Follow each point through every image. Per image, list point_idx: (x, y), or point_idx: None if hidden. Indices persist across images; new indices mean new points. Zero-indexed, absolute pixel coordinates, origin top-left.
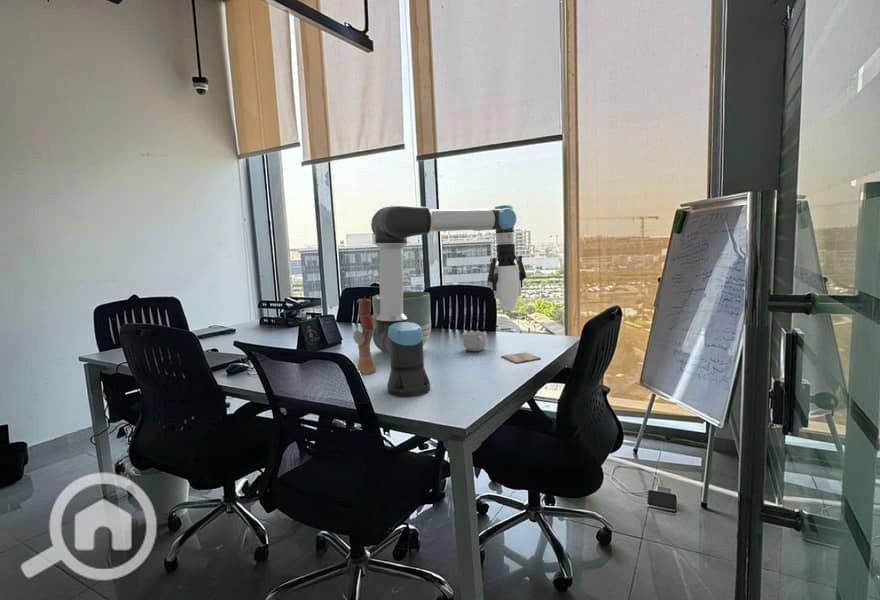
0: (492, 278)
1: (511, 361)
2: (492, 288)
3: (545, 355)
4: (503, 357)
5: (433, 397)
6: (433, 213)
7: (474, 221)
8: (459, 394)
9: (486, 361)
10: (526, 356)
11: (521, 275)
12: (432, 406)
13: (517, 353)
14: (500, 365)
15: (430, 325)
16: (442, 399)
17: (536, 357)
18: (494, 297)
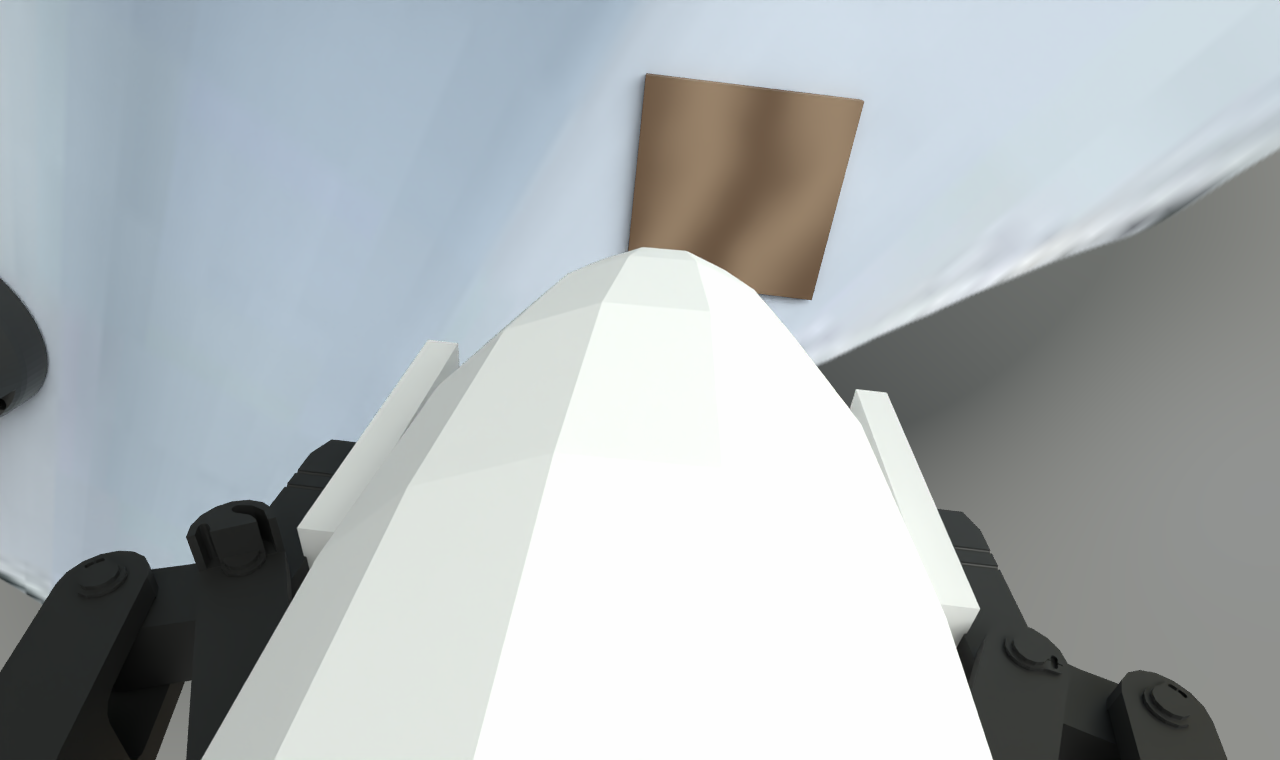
0: (145, 726)
1: (631, 223)
2: (301, 475)
3: (912, 240)
4: (642, 109)
5: (62, 452)
6: None
7: None
8: (175, 480)
9: (494, 101)
10: (772, 212)
11: (1131, 752)
12: (55, 518)
13: (789, 95)
14: (526, 247)
15: None
16: (98, 486)
17: (801, 275)
18: (422, 350)
